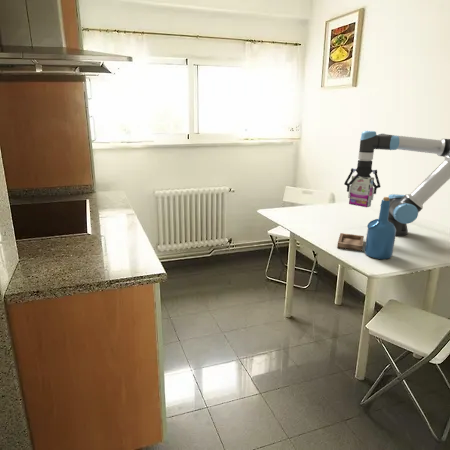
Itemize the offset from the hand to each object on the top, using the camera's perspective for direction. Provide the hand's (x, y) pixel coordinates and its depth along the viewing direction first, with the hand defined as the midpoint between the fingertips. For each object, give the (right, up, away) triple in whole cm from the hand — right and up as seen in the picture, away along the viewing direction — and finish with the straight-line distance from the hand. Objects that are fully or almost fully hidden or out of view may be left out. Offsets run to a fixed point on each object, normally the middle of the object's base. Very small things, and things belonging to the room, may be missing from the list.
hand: (360, 198), depth 215 cm
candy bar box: (0, -4, +1) cm, 4 cm away
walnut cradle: (-8, -26, -8) cm, 28 cm away
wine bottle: (+1, -30, -22) cm, 38 cm away
